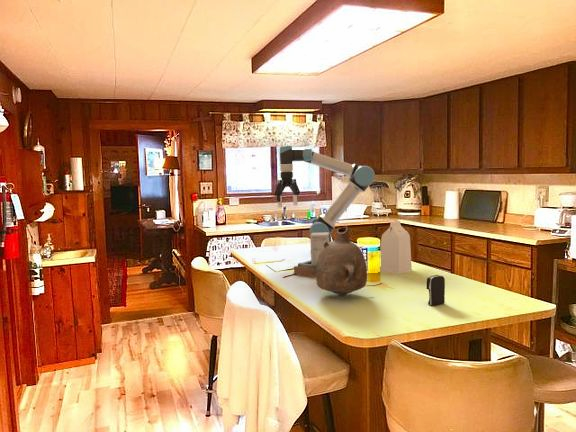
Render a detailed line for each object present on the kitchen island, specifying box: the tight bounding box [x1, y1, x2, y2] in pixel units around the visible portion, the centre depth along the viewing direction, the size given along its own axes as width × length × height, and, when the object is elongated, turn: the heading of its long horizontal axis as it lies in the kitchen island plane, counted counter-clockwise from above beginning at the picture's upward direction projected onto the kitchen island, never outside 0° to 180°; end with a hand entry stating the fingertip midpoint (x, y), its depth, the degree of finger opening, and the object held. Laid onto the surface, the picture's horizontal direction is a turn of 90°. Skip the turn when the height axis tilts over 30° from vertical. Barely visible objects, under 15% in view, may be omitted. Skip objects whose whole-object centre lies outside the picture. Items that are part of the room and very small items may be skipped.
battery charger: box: [426, 274, 446, 307], centre depth 188 cm, size 7×4×11 cm, turn 117°
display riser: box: [293, 259, 317, 279], centre depth 249 cm, size 20×20×6 cm
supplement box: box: [309, 232, 329, 265], centre depth 248 cm, size 10×9×17 cm
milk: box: [380, 220, 413, 275], centre depth 248 cm, size 12×12×26 cm
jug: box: [315, 226, 368, 297], centre depth 203 cm, size 24×21×30 cm
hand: (287, 206), depth 293 cm, fingers open, 13 cm apart
